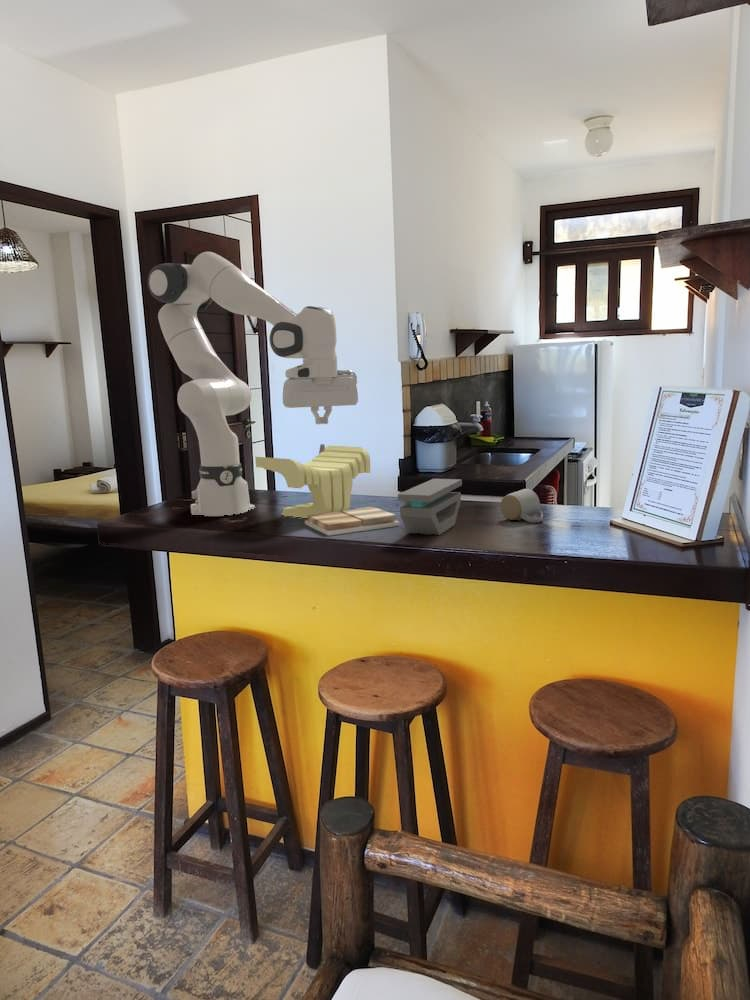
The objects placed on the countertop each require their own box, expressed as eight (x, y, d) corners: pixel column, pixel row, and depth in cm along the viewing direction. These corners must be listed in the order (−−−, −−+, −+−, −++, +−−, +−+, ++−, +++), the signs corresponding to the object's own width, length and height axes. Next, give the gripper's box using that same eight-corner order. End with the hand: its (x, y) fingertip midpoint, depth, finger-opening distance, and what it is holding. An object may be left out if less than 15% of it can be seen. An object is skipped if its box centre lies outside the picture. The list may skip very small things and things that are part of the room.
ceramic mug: (497, 519, 187) (498, 490, 186) (517, 514, 192) (518, 486, 191) (530, 526, 179) (530, 496, 178) (550, 521, 184) (550, 491, 183)
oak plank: (307, 521, 188) (307, 515, 188) (339, 517, 192) (338, 511, 192) (328, 530, 176) (328, 524, 175) (361, 526, 180) (361, 520, 179)
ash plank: (342, 516, 192) (342, 511, 192) (372, 511, 196) (371, 506, 196) (364, 525, 180) (364, 519, 180) (396, 520, 184) (395, 514, 184)
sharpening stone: (430, 541, 166) (429, 495, 164) (399, 539, 169) (397, 494, 167) (462, 520, 188) (461, 479, 186) (434, 518, 191) (433, 478, 189)
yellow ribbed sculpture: (301, 527, 186) (298, 459, 182) (259, 521, 195) (255, 456, 192) (371, 507, 209) (369, 447, 206) (330, 503, 219) (328, 445, 215)
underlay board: (305, 524, 189) (304, 520, 189) (372, 515, 198) (372, 511, 197) (328, 535, 175) (328, 531, 175) (399, 525, 183) (399, 521, 183)
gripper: (351, 369, 192) (352, 421, 194) (279, 371, 183) (281, 425, 185) (361, 369, 186) (362, 422, 189) (287, 371, 177) (289, 426, 180)
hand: (321, 424), depth 187 cm, fingers closed
